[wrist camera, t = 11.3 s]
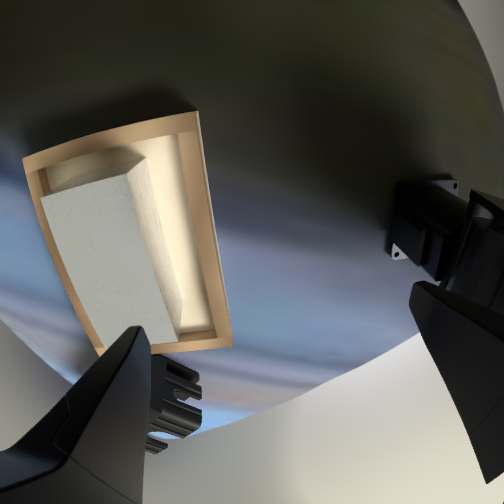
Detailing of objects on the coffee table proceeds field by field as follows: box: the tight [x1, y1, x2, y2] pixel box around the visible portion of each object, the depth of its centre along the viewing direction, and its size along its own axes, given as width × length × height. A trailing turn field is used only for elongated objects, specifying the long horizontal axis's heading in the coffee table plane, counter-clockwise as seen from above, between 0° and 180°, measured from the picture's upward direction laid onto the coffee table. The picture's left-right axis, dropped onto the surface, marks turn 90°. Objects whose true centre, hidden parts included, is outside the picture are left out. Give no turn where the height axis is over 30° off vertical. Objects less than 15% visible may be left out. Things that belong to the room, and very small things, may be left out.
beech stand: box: [22, 111, 233, 357], centre depth 19 cm, size 11×16×3 cm
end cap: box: [145, 355, 202, 454], centre depth 24 cm, size 10×7×7 cm
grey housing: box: [40, 158, 183, 348], centre depth 16 cm, size 10×5×4 cm, turn 7°
